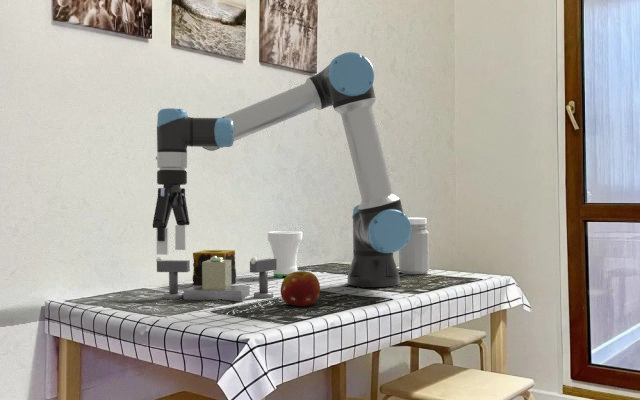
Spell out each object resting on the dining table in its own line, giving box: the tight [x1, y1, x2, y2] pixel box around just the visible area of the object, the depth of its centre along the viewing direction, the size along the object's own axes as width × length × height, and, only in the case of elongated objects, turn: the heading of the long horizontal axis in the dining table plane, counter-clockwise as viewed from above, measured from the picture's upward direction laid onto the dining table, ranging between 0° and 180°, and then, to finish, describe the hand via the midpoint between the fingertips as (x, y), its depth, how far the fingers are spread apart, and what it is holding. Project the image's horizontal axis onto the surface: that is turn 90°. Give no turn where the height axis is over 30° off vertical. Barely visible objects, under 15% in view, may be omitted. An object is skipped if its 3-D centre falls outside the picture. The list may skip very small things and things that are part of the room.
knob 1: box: [155, 256, 191, 300], centre depth 174 cm, size 8×5×10 cm, turn 83°
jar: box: [398, 217, 430, 275], centre depth 222 cm, size 10×10×18 cm
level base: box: [183, 256, 251, 301], centre depth 175 cm, size 15×9×11 cm, turn 83°
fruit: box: [280, 270, 321, 307], centre depth 162 cm, size 10×9×8 cm
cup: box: [267, 230, 304, 279], centre depth 215 cm, size 11×11×14 cm
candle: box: [192, 249, 237, 286], centre depth 197 cm, size 10×10×10 cm
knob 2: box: [249, 256, 276, 299], centre depth 174 cm, size 8×5×10 cm, turn 145°
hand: (171, 252), depth 174 cm, fingers open, 13 cm apart
